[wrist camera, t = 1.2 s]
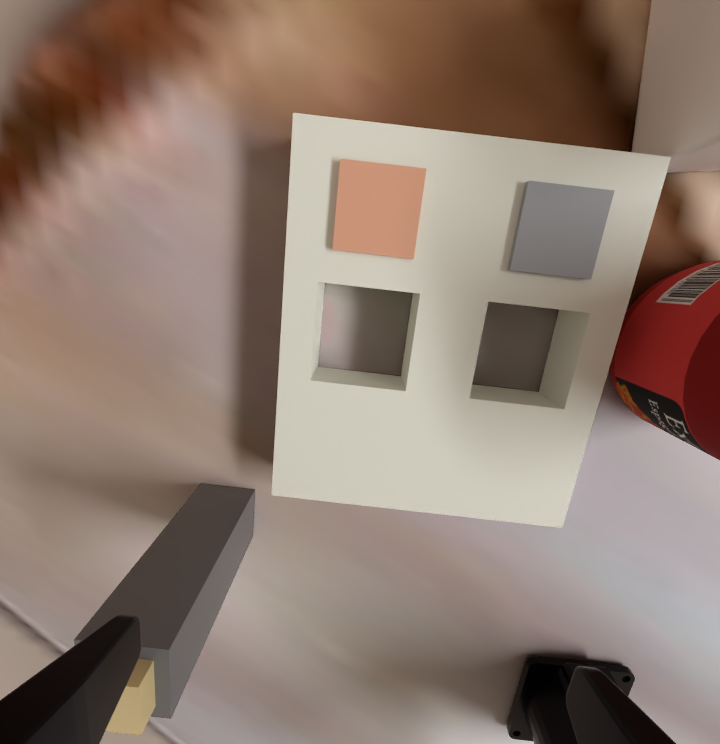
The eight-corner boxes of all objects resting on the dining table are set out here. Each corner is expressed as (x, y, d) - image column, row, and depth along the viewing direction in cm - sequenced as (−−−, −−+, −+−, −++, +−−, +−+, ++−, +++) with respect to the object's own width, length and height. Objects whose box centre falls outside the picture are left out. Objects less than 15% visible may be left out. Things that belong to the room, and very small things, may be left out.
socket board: (538, 497, 20) (565, 532, 17) (283, 468, 20) (269, 499, 17) (625, 175, 16) (678, 154, 13) (304, 138, 16) (291, 109, 13)
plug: (253, 535, 21) (157, 748, 12) (201, 529, 21) (62, 738, 11) (255, 489, 20) (154, 677, 11) (201, 483, 20) (52, 665, 11)
